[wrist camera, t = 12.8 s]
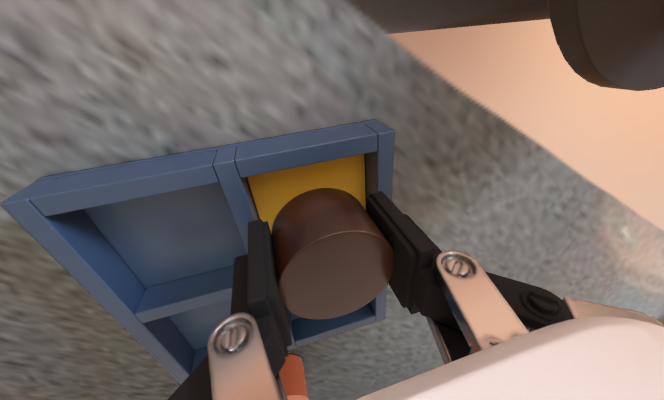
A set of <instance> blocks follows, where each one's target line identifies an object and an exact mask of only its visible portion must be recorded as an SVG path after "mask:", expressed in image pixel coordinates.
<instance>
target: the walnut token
mask: <svg viewBox="0 0 664 400" xmlns="http://www.w3.org/2000/svg"><path fill="white" fill-rule="evenodd" d="M271 234H272V242H273V250H274V259H275V268H276V277H277V285H278V289H279V292H280V295H281V298H282V301H283V304H284V307H285V308H286V309H287V310H288V311H290V312H291V313H293V314H295V315H297V316H300V317H303V318H308V319H330V318H335V317H339V316H343V315H346V314H348V313H351V312H353V311H355V310H358V309H359V308H361V307H363V306H365V305H366V304H368V303H369V302H370V301H372V300H373V299H374V298H375V297H377V296H378V295H379V294H380V293H381V292H382V291H383V289H384V288H385V287H386V286H387V284H388V283H389V281H390V279H391V277H392V275H393V268H394V251H393V249H392V247H391V246H390V244H389V243H388V241H387V240H386V238H385V237H384V236H383V234H382V233H381V231H380V230H379V229H378V227H377V226H376V224H375V223H374V221H373V220H372V219H371V217H370V216H369V214H368V213H367V212H366V210H365V209H364V207H363V206H362V205H361V203H360V202H359V201H358V200H357V199H356V198H355V197H354V196H353V195H351V194H350V193H348V192H346V191H343V190H340V189H335V188H318V189H313V190H310V191H307V192H304V193H302V194H300V195H298V196H296V197H294V198H293V199H292V200H290V201H289V202H288V203H287V204H286V205H284V207H283V208H282V209H281V210H280V211H279V213H278V214H277V216H276V218H275V220H274V222H273V226H272V232H271Z"/></svg>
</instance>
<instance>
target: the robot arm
mask: <svg viewBox="0 0 664 400" xmlns="http://www.w3.org/2000/svg"><path fill="white" fill-rule="evenodd" d="M365 204H366V212H367V213H368V214H369V216H370V217H371V219H372V220H373V221H374V223H375V224H376V226H377V227H378V229H379V230H380V231H381V233H382V234H383V236H384V237H385V238H386V240H387V241H388V243H389V244H390V246H391V247H392V249H393V251H394V268H393V275H392V277H391V279H390V281H389V285H390V286H391V288H392V290H393V292H394V293H395V295H396V297H397V298H398V300H399V302H400V304H401V305H402V306H403V307H404V308H405V307H407V308H408V310H409V311H410V313H411V314H414V313H417V312H420V313H421V314H422V315H423V316H426V318H427V321H428V324H429V326H430V329H431V331H432V334H433V336H434V339H435V341H436V344H437V346H438V349H439V352H440V354H441V357H442V359H443V362H444V364H445V365H442V366H440V367H437V368H435V369H432V370H430V371H427V372H424V373H422V374H419V375H417V376H414V377H412V378H409V379H406V380H404V381H401V382H399V383H396V384H394V385H391V386H389V387H386V388H383V389H381V390H378V391H376V392H373V393H371V394H368V395H366V396H363V397H360V398H358V399H355V400H664V324H662V323H661V322H659V321H658V320H656V319H655V318H653V317H650V316H648V315H646V314H644V313H641V312H637V311H634V310H629V309H624V308H618V307H613V306H608V305H603V304H597V303H592V302H587V301H582V300H577V299H571V298H566V297H564V298H563V300H561V299H560V298H559V297H557V296H556V295H554V294H553V293H551V292H549V291H547V290H545V289H542V288H540V287H536V286H533V285H529V284H526V283H522V282H519V281H515V280H512V279H509V278H505V277H502V276H498V275H495V274H491V273H488V272H485V271H484V270H483V269H482V267H481V266H480V265H479V263H478V262H477V261H476V260H475V259H474V258H473V257H471V256H470V255H468V254H466V253H463V252H460V251H454V250H449V251H444V252H442V251H441V250H440V249H439V248H438V247H437V246H436V245H435V244H434V243H433V242H432V241H431V240H430V239H429V238H428V236H427V235H426V234H425V233H424V232H423V231H422V230H421V229H420V228H419V227H418V226H417V225H416V224H415V223H414V222H413V220H412V219H411V218H410V217H409V216H408V215H406V214H403V213H402V212H401V211H400V210H399V209H398V208H397V207H396V206H395V205H394V204H393V202H392V201H391V200H390V199H389V198H388V197H387V196H386V195H385V194H384V193H383V192H382V191H379V192H375V193H370V194H369V197H367V198H366V200H365ZM291 345H292V338H291V331H290V324H289V317H288V310H287V309H286V308H285V307H284V304H283V301H282V298H281V295H280V292H279V289H278V285H277V277H276V268H275V259H274V250H273V242H272V234H271V231H270V227H269V224H268V221H265V222H263V221H262V219H259V220H255V221H250V222H248V254H246V255H243V256H239V257H236V258H235V260H234V272H233V285H232V298H231V312H230V315H229V316H228V317H226V318H224V319H223V320H222V321H220V322H219V323H218V324H217V325H216V326H215V328H214V329H213V331H212V332H211V334H210V337H209V339H208V346H207V349H208V355H207V356H206V357H205V358H204V359H203V360H202V361H201V363H200V364H199V365H198V366H197V367H196V368H195V369H194V371H193V372H192V373H191V374H190V375H189V376H188V377H187V379H186V380H185V381H184V382H183V383H182V384H181V385H180V386H179V388H178V389H177V390H176V391H175V392H174V393H173V394H172V396H171V397H170V398H169V399H168V400H288V398H287V395H286V392H285V389H284V385H283V382H282V379H281V376H280V373H279V372H280V370H281V368H282V367H283V365H284V364H285V362H286V360H285V357H287V356H288V350H287V347H288V346H291Z"/></svg>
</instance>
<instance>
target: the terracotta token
mask: <svg viewBox="0 0 664 400" xmlns="http://www.w3.org/2000/svg"><path fill="white" fill-rule="evenodd" d="M285 360H286V362H285V364H284V365H283V367H282V368H281V370H280V372H279V373H280V376H281V379H282V382H283V385H284V389H285V392H286V395H287V398H288V400H309V396H308V390H307V384H306V377H305V371H304V365H303V360H302V359H301V358H300V357H299V356H297V355H292V354H288V356H287V357H285Z"/></svg>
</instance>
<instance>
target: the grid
mask: <svg viewBox="0 0 664 400" xmlns="http://www.w3.org/2000/svg"><path fill="white" fill-rule="evenodd" d="M394 135H395V132H394V130H393V129H391V128H389V127H388V126H386V125H384V124H382V123H381V122H379V121H378V120H376V119H374V120H368V121H363V122H357V123H351V124H345V125H340V126H334V127H328V128H322V129H316V130H311V131H305V132H299V133H293V134H288V135H282V136H276V137H270V138H265V139H259V140H253V141H247V142H242V143H236V144H230V145H224V146H219V147H213V148H207V149H201V150H195V151H190V152H184V153H178V154H172V155H167V156H161V157H155V158H149V159H144V160H138V161H132V162H126V163H121V164H115V165H109V166H103V167H98V168H92V169H86V170H80V171H74V172H69V173H63V174H57V175H51V176H46V177H41V178H39V179H38V180H36V181H35V182H34V183H32V184H31V185H29V186H27V187H26V188H24V189H23V190H21V191H19V192H18V193H16V194H15V195H13V196H11V197H10V198H8V199H6V200H5V201H3V202H2V203H1V206H2V207H3V208H4V209H5V210H6V211H7V212H8V213H9V214H10V215H11V216H12V217H13V218H14V219H15V220H16V221H17V222H18V223H19V224H20V225H21V226H22V227H23V228H24V229H25V230H26V231H27V232H28V233H29V234H30V235H31V236H32V237H33V238H34V239H35V240H36V241H37V242H38V243H39V244H40V245H41V246H42V247H43V248H44V249H45V250H46V251H47V252H48V253H49V254H50V255H51V256H52V257H53V258H54V259H55V260H56V261H57V262H58V263H59V264H60V265H61V266H63V267H64V268H65V269H66V270H67V271H68V272H69V273H70V274H71V275H72V276H73V277H74V278H75V279H76V280H77V281H78V282H79V283H80V284H81V285H82V286H83V287H84V288H85V289H86V290H87V291H88V292H89V293H90V294H91V295H92V296H93V297H94V298H95V299H96V300H97V301H98V302H99V303H100V304H101V305H102V306H103V307H104V308H105V309H106V310H107V311H108V312H109V313H110V314H111V315H112V316H113V317H114V318H115V319H116V320H117V321H118V322H119V323H120V324H121V325H122V326H123V327H124V328H125V329H126V330H127V331H128V332H129V333H130V334H131V335H132V336H133V337H134V338H135V339H136V340H137V341H138V342H139V343H140V344H141V345H142V346H143V347H144V348H145V349H146V350H147V351H148V352H149V353H150V354H151V355H152V356H153V357H154V358H155V359H156V360H157V361H158V362H159V363H160V364H161V365H162V366H163V367H164V368H165V369H166V370H167V371H168V372H169V373H170V374H171V375H172V376H173V377H174V378H175V379H176V380H177V381H178V382H179V383H180V384H182V383H183V382H184V381H185V380H186V379H187V377H188V376H189V375H190V374H191V373H192V372H193V371H194V369H195V368H196V367H197V366H198V365H199V364H200V363H201V361H202V360H203V359H204V358H205V357H206V356H207V355H208V349H207V346H208V339H209V337H210V334H211V332H212V331H213V329H214V328H215V326H216V325H217V324H218V323H219V322H220V321H222V320H223V319H224V318H226V317H228V316H229V315H230V312H231V298H232V285H233V272H234V260H235V258H236V257H239V256H243V255H246V254H248V222H250V221H255V220H259V219H262V221H263V222H265V221H268V224H269V227H270V231H271V232H272V226H273V222H274V220H275V218H276V216H277V214H278V213H279V211H280V210H281V209H282V208H283V207H284V205H286V204H287V203H288V202H289V201H290V200H292V199H293V198H294V197H296V196H298V195H300V194H302V193H304V192H307V191H310V190H313V189H318V188H335V189H340V190H343V191H346V192H348V193H350V194H351V195H353V196H354V197H355V198H356V199H357V200H358V201H359V202H360V203H361V205H362V206H363V207H364V209H365V210H366V204H365V200H366V198H367V197H369V194H370V193H375V192H379V191H382V192H383V193H384V194H385V195H386V196H387V197H388V198H389V199H390V200H391V195H392V175H393V155H394ZM386 295H387V286H386V287H385V288H384V289H383V291H382V292H381V293H380V294H379V295H378V296H377V297H375V298H374V299H373V300H372V301H370V302H369V303H368V304H366V305H365V306H363V307H361V308H359V309H358V310H355V311H353V312H351V313H348V314H346V315H343V316H339V317H335V318H330V319H308V318H303V317H300V316H297V315H295V314H293V313H291V312H290V311H288V317H289V324H290V331H291V338H292V345H291V346H288V347H287V350H288V351H289V350H292V349H295V348H296V347H301V346H304V345H307V344H310V343H313V342H316V341H319V340H322V339H325V338H328V337H331V336H334V335H337V334H340V333H343V332H346V331H350V330H353V329H356V328H359V327H362V326H365V325H368V324H371V323H374V322H375V321H376V322H377V321H380V320H383V319H385V315H386Z"/></svg>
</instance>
